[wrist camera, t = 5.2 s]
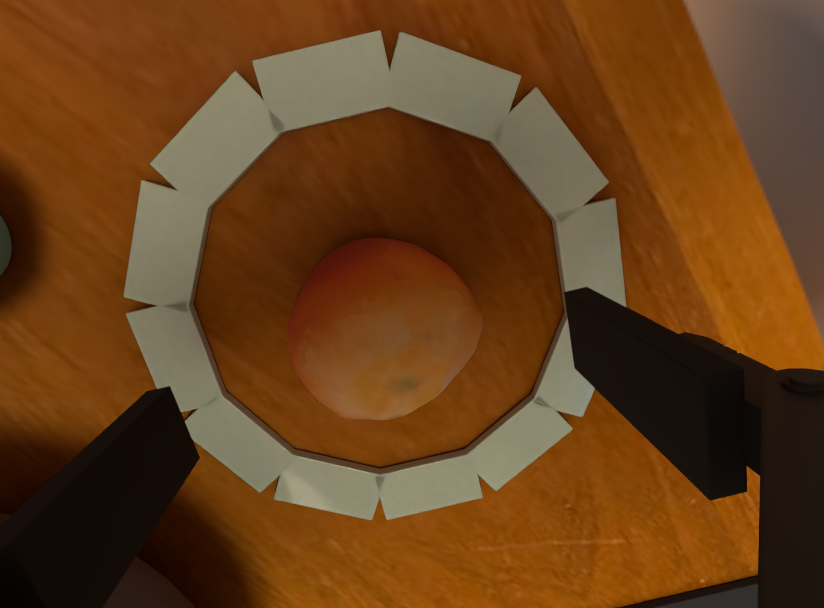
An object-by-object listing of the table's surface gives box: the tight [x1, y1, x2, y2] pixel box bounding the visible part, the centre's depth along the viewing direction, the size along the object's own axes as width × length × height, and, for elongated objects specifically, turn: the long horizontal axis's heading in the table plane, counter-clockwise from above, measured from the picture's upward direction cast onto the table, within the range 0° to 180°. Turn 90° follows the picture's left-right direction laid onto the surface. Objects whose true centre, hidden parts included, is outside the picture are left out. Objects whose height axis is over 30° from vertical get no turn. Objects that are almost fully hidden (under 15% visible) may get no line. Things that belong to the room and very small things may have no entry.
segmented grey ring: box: [123, 30, 626, 520], centre depth 23 cm, size 24×24×1 cm
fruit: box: [286, 238, 483, 420], centre depth 20 cm, size 8×8×8 cm
